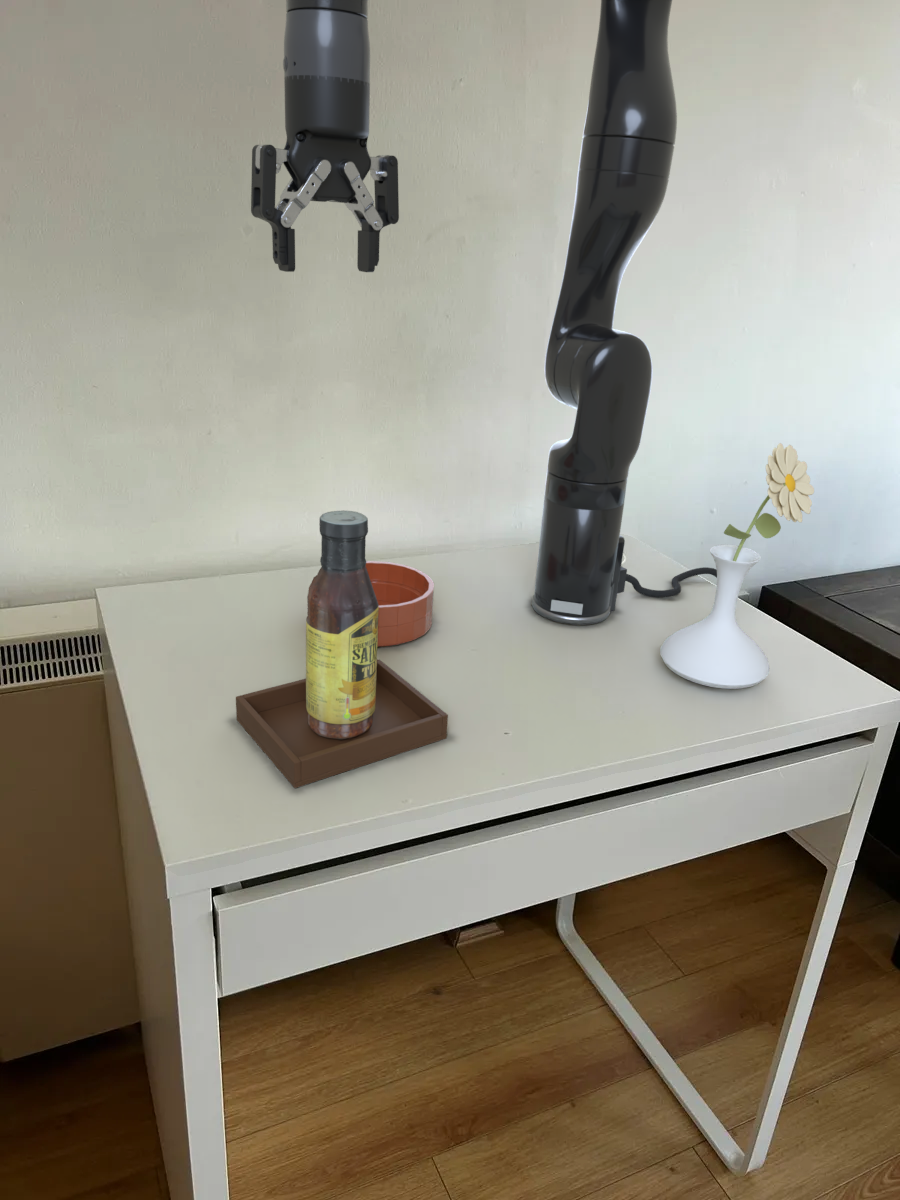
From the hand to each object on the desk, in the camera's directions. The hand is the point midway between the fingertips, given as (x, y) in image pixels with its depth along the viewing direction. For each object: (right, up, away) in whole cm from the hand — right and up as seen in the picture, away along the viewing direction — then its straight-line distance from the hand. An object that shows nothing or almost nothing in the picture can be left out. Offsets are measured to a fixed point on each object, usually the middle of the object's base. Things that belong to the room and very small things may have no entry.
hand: (327, 271), depth 86 cm
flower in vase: (+41, -39, +11) cm, 58 cm away
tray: (+2, -43, -4) cm, 43 cm away
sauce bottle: (+2, -43, -4) cm, 43 cm away
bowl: (+3, -34, +17) cm, 38 cm away
